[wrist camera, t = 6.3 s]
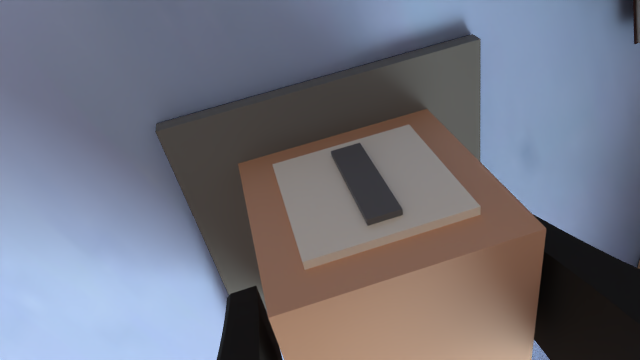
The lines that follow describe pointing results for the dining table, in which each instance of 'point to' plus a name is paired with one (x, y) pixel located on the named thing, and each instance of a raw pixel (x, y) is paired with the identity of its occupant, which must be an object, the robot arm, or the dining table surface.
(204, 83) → the dining table surface
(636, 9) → the book
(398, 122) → the letter cube
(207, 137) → the charcoal pad
